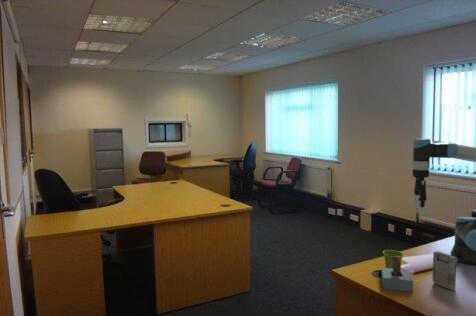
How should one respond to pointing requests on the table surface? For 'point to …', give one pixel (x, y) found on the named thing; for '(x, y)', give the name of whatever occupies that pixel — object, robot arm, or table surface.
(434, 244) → the table surface
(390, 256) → the plant pot
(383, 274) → the bore block
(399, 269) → the pin
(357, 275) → the table surface
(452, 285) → the handheld gaming console
